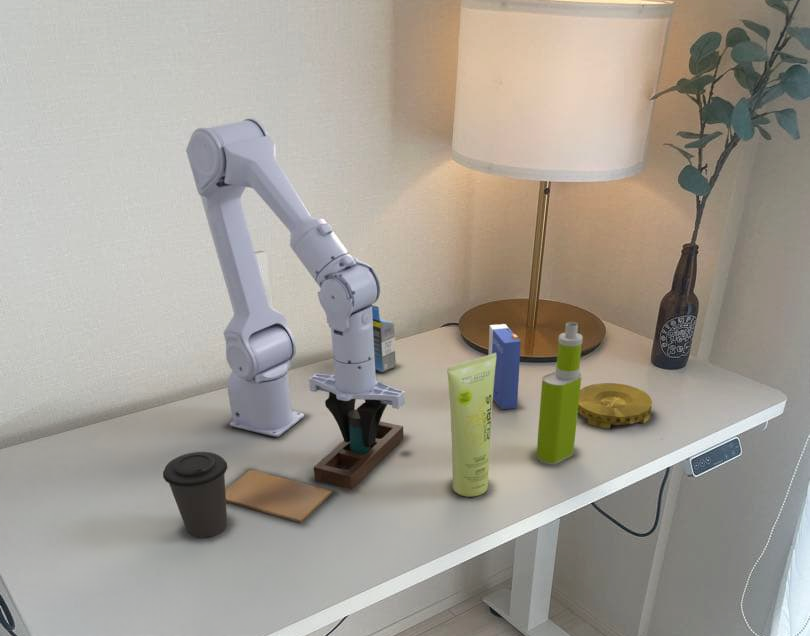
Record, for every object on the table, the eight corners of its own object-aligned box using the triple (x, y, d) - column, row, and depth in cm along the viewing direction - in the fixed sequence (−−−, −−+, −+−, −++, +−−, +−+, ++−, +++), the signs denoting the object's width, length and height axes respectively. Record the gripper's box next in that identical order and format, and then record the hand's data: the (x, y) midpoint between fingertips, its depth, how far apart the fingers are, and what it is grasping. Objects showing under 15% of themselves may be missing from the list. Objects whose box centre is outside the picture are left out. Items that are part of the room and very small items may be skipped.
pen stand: (314, 480, 116) (313, 467, 115) (369, 430, 128) (368, 418, 126) (351, 489, 114) (350, 476, 112) (403, 438, 125) (403, 426, 124)
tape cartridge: (397, 366, 147) (394, 301, 140) (382, 373, 145) (379, 307, 138) (363, 354, 152) (359, 290, 145) (348, 360, 150) (343, 296, 143)
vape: (578, 452, 120) (592, 324, 109) (550, 466, 117) (562, 335, 106) (559, 443, 123) (571, 316, 111) (532, 456, 120) (541, 327, 108)
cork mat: (217, 498, 113) (216, 496, 112) (250, 471, 118) (250, 469, 118) (301, 522, 107) (300, 520, 107) (332, 493, 113) (331, 490, 113)
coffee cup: (208, 551, 103) (194, 485, 97) (163, 533, 106) (146, 468, 100) (250, 519, 108) (239, 455, 102) (206, 503, 112) (193, 440, 106)
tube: (482, 502, 110) (487, 370, 99) (446, 497, 111) (447, 366, 100) (491, 481, 114) (496, 352, 103) (456, 476, 116) (458, 348, 104)
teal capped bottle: (347, 461, 120) (343, 416, 116) (357, 451, 122) (354, 407, 118) (364, 465, 119) (361, 420, 115) (374, 456, 121) (372, 411, 117)
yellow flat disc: (663, 423, 127) (665, 410, 126) (593, 433, 125) (594, 421, 124) (628, 391, 137) (630, 379, 135) (563, 400, 134) (564, 388, 133)
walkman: (517, 407, 133) (521, 338, 126) (501, 410, 132) (504, 340, 125) (502, 387, 139) (505, 321, 132) (486, 389, 139) (489, 322, 132)
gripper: (293, 357, 111) (303, 443, 119) (386, 375, 105) (390, 464, 113) (320, 339, 116) (328, 423, 124) (410, 355, 111) (412, 442, 118)
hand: (359, 441), depth 119 cm, fingers closed on teal capped bottle, 3 cm apart
